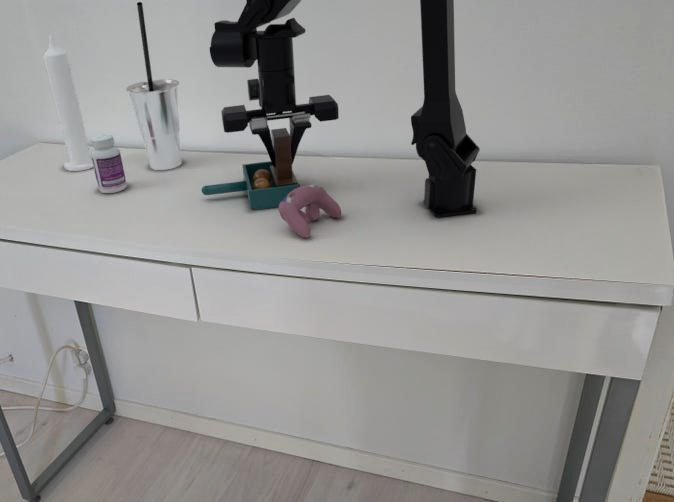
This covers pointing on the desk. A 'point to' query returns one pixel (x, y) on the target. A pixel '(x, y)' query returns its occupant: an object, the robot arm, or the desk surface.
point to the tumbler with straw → (157, 113)
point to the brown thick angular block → (282, 159)
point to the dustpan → (256, 197)
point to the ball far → (262, 175)
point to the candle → (67, 108)
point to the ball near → (261, 184)
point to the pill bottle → (107, 164)
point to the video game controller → (307, 207)
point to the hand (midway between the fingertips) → (282, 165)
